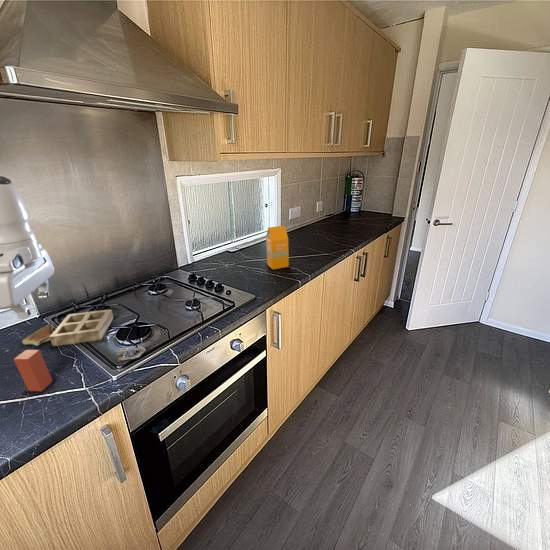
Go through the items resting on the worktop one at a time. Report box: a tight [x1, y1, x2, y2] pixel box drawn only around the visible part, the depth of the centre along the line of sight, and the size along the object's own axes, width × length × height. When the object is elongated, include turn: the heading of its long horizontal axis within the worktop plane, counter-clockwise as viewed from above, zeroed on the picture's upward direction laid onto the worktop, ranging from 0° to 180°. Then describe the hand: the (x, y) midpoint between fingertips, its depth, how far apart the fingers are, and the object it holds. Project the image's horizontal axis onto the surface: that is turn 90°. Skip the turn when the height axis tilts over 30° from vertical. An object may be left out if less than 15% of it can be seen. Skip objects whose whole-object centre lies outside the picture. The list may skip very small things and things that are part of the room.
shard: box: [21, 321, 54, 347], centre depth 95 cm, size 11×8×2 cm
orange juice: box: [265, 225, 290, 270], centre depth 144 cm, size 8×9×20 cm
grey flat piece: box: [115, 346, 147, 362], centre depth 85 cm, size 7×8×2 cm
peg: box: [13, 349, 53, 392], centre depth 73 cm, size 4×4×10 cm
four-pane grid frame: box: [49, 308, 114, 347], centre depth 97 cm, size 14×14×4 cm
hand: (35, 307), depth 70 cm, fingers open, 8 cm apart
